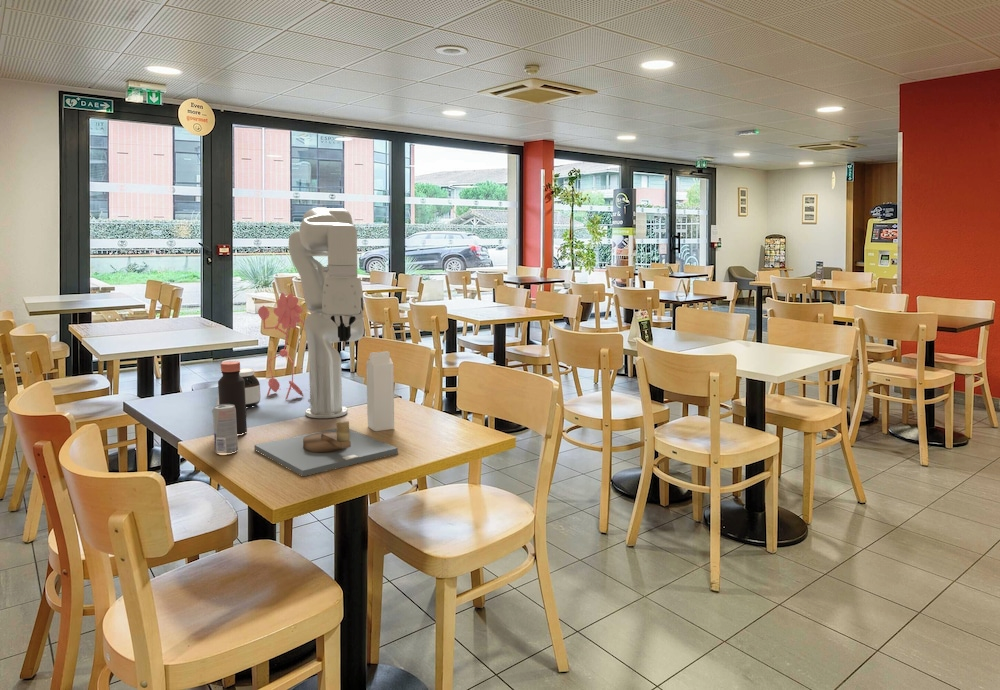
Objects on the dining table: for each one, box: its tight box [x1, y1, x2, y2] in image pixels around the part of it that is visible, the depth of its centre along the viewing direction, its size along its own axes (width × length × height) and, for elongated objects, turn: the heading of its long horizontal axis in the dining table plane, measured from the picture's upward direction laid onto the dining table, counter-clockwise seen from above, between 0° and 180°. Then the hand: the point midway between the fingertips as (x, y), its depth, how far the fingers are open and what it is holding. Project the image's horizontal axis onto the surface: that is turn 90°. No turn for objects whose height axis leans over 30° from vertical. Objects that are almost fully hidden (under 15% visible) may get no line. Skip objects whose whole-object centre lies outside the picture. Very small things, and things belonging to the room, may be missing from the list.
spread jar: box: [216, 368, 261, 408], centre depth 223 cm, size 12×11×12 cm
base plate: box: [254, 428, 399, 477], centre depth 178 cm, size 26×26×2 cm
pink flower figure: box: [257, 292, 305, 402], centre depth 239 cm, size 15×26×35 cm, turn 59°
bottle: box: [217, 360, 248, 434], centre depth 192 cm, size 7×7×20 cm
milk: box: [365, 351, 395, 432], centre depth 200 cm, size 6×6×22 cm
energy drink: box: [212, 404, 239, 453], centre depth 177 cm, size 5×5×12 cm
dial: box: [303, 420, 351, 452], centre depth 176 cm, size 16×11×8 cm
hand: (344, 340), depth 187 cm, fingers closed
